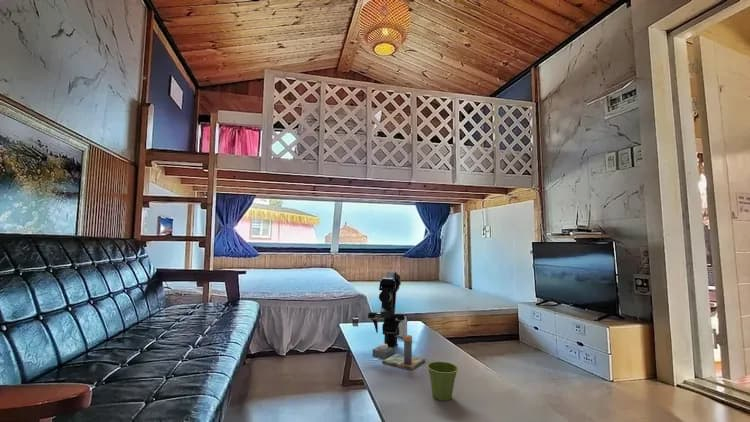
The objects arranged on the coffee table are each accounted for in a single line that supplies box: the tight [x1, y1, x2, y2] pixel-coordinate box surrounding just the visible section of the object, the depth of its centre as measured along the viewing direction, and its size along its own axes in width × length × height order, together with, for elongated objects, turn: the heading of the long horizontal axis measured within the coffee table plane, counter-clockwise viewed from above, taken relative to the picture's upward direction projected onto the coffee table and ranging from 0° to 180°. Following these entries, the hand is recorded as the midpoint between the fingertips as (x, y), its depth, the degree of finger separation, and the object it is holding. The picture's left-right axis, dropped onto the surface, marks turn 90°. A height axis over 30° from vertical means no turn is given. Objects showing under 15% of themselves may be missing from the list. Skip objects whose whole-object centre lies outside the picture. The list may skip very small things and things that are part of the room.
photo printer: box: [396, 317, 408, 339], centre depth 223 cm, size 10×4×12 cm, turn 39°
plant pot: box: [426, 361, 459, 402], centre depth 139 cm, size 12×12×11 cm
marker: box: [403, 334, 413, 365], centre depth 172 cm, size 4×4×12 cm
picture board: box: [381, 353, 426, 371], centre depth 176 cm, size 16×14×1 cm
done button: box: [378, 343, 388, 351], centre depth 187 cm, size 4×4×3 cm
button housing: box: [372, 346, 395, 359], centre depth 187 cm, size 8×8×3 cm
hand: (386, 333), depth 186 cm, fingers open, 9 cm apart
